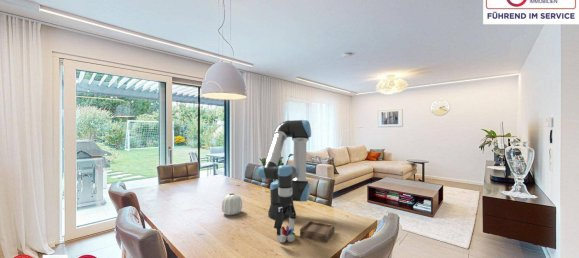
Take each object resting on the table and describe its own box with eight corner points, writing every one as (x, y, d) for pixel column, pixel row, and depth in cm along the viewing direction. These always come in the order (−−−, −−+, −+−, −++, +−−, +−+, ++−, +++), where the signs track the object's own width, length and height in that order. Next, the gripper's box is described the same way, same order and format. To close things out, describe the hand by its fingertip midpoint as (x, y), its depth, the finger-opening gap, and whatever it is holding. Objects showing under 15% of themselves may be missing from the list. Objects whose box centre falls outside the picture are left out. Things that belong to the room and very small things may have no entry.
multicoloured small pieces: (277, 236, 127) (276, 223, 127) (294, 235, 128) (294, 222, 128) (277, 244, 119) (277, 230, 119) (296, 243, 120) (296, 229, 120)
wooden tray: (300, 236, 126) (299, 229, 126) (309, 227, 138) (309, 220, 138) (326, 242, 119) (326, 234, 119) (334, 232, 131) (334, 224, 131)
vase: (217, 215, 160) (217, 195, 159) (230, 208, 172) (229, 190, 172) (234, 218, 154) (234, 197, 154) (246, 211, 167) (246, 192, 167)
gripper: (279, 202, 111) (280, 247, 110) (301, 190, 133) (302, 228, 133) (266, 200, 114) (267, 244, 114) (289, 189, 136) (290, 225, 136)
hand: (285, 235), depth 123 cm, fingers open, 13 cm apart
